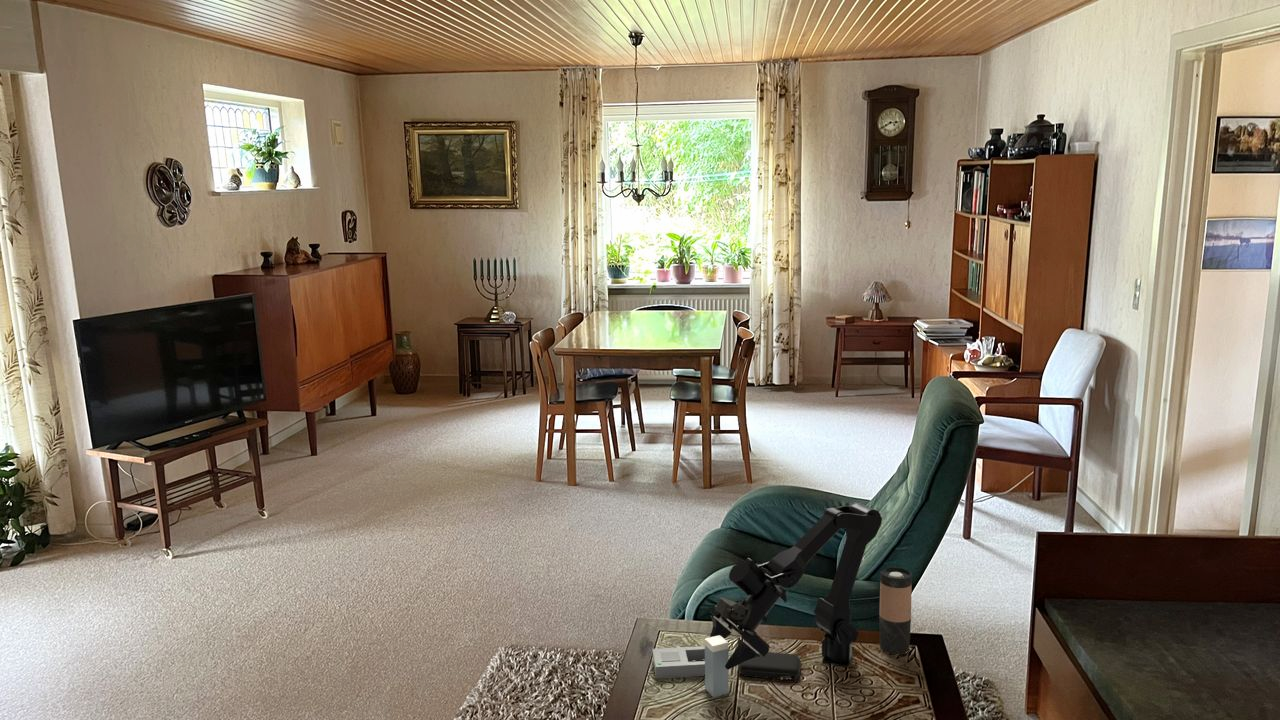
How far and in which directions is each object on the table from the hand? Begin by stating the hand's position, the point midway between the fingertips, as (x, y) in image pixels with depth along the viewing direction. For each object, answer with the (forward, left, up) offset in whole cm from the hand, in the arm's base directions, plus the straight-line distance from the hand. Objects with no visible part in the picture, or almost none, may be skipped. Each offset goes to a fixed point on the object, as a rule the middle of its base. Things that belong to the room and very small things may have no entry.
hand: (716, 659), depth 202 cm
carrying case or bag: (-9, -14, -8) cm, 18 cm away
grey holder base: (+11, -8, -8) cm, 15 cm away
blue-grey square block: (0, 0, -8) cm, 8 cm away
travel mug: (-35, -36, -8) cm, 51 cm away
